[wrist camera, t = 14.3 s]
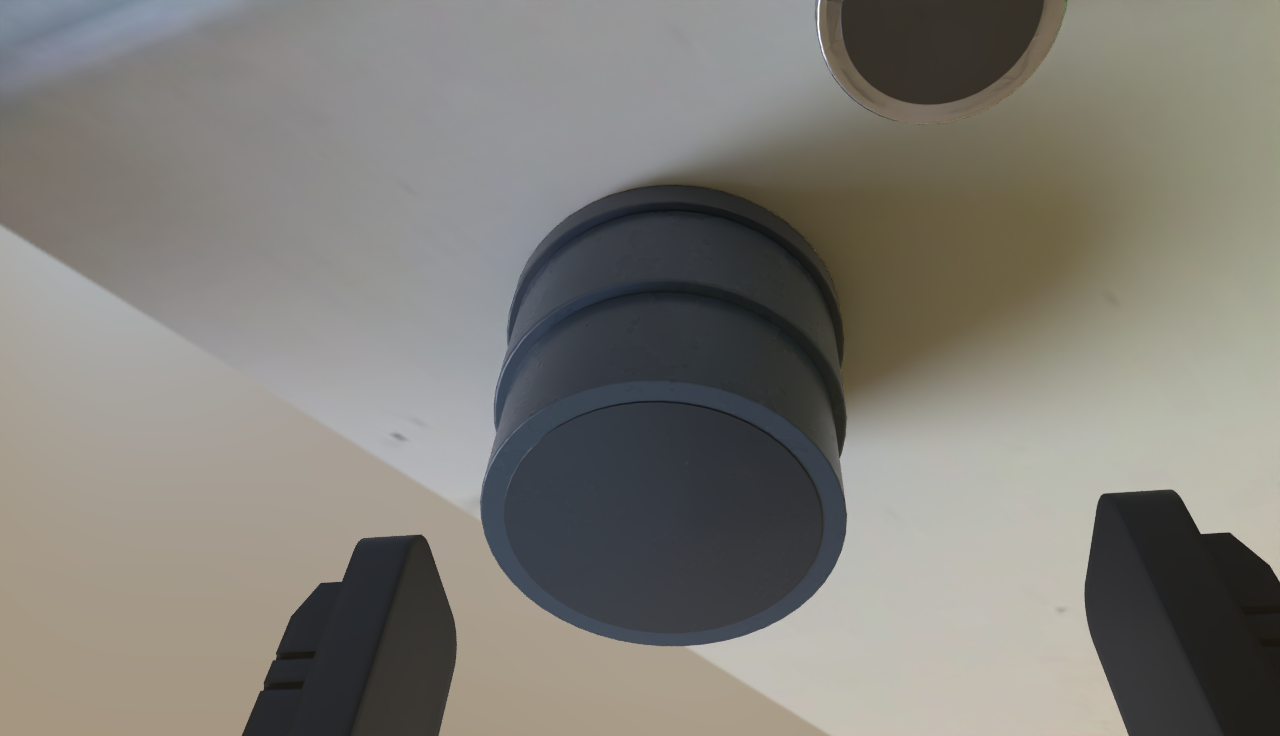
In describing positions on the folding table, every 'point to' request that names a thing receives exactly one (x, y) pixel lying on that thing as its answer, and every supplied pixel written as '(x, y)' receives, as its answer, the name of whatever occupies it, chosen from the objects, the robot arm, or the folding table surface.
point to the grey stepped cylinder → (669, 421)
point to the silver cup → (934, 52)
